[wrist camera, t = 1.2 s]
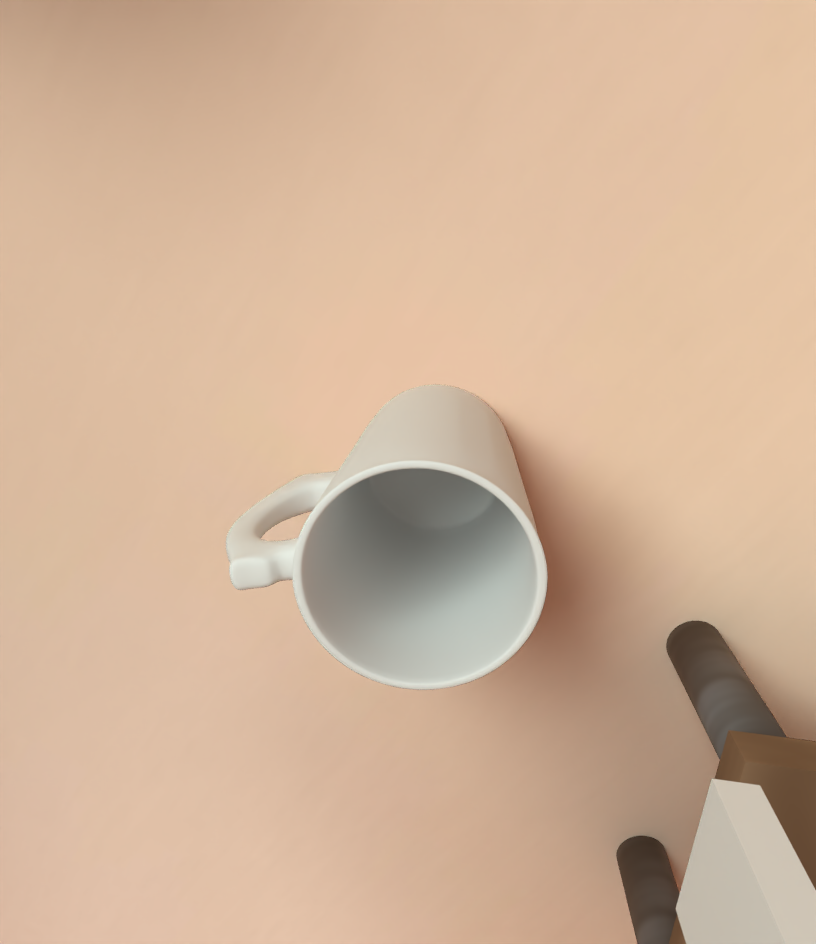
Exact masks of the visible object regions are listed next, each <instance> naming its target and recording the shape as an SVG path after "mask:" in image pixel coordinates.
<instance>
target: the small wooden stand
mask: <svg viewBox="0 0 816 944" xmlns="http://www.w3.org/2000/svg"><path fill="white" fill-rule="evenodd" d="M667 652H668V655H669V657H670V659H671V661H672V663H673V665H674V667H675V669H676V671H677V673H678V675H679V677H680V679H681V681H682V683H683V685H684V687H685V690H686V692H687V694H688V696H689V698H690V700H691V702H692V704H693V706H694V708H695V710H696V712H697V714H698V716H699V718H700V720H701V722H702V724H703V726H704V728H705V730H706V732H707V734H708V736H709V738H710V741H711V743H712V745H713V747H714V749H715V751H716V753H717V755H718V757H719V759H720V762H719V766H718V769H717V773H716V776H715V779H719V780H726V781H733V782H740V783H747V784H754V785H760V786H761V788H762V790H763V792H764V794H765V796H766V798H767V799H768V801H769V803H770V805H771V807H772V809H773V811H774V813H775V815H776V816H777V818H778V820H779V822H780V824H781V826H782V828H783V830H784V832H785V833H786V835H787V837H788V839H789V841H790V843H791V845H792V847H793V849H794V850H795V852H796V854H797V856H798V858H799V860H800V862H801V864H802V866H803V867H804V869H805V871H806V873H807V875H808V877H809V879H810V881H811V883H812V884H813V886H814V888H815V890H816V742H815V741H808V740H800V739H793V738H787V737H786V735H785V734H784V732H783V731H782V729H781V727H780V726H779V724H778V723H777V721H776V720H775V718H774V717H773V715H772V714H771V712H770V710H769V709H768V707H767V706H766V704H765V703H764V701H763V700H762V698H761V697H760V695H759V694H758V692H757V690H756V689H755V687H754V686H753V684H752V683H751V681H750V680H749V678H748V677H747V675H746V673H745V672H744V670H743V669H742V667H741V666H740V664H739V663H738V661H737V660H736V658H735V657H734V655H733V653H732V652H731V650H730V649H729V647H728V646H727V644H726V643H725V641H724V640H723V638H722V636H721V635H720V633H719V632H718V630H717V629H716V628H715V627H713V626H712V625H710V624H708V623H706V622H702V621H690V622H686V623H683V624H681V625H679V626H678V627H676V628H675V629H674V630H673V631H672V632H671V634H670V635H669V637H668V640H667ZM617 861H618V865H619V870H620V874H621V878H622V882H623V886H624V890H625V894H626V898H627V902H628V907H629V911H630V915H631V919H632V923H633V927H634V931H635V935H636V939H637V944H686V942H685V938H684V935H683V932H682V928H681V925H680V922H679V919H678V915H677V912H676V905H677V902H678V898H679V891H678V888H677V885H676V882H675V879H674V876H673V873H672V870H671V867H670V864H669V860H668V857H667V854H666V851H665V849H664V847H663V845H662V844H661V843H660V842H659V841H657V840H656V839H654V838H651V837H647V836H636V837H632V838H629V839H627V840H626V841H624V842H623V843H622V844H621V845H620V846H619V848H618V850H617Z"/></svg>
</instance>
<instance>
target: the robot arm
mask: <svg viewBox="0 0 816 944" xmlns="http://www.w3.org/2000/svg"><path fill="white" fill-rule="evenodd" d="M676 912H677V915H678V919H679V922H680V925H681V928H682V932H683V935H684V938H685V942H686V944H816V890H815V888H814V886H813V884H812V883H811V881H810V879H809V877H808V875H807V873H806V871H805V869H804V867H803V866H802V864H801V862H800V860H799V858H798V856H797V854H796V852H795V850H794V849H793V847H792V845H791V843H790V841H789V839H788V837H787V835H786V833H785V832H784V830H783V828H782V826H781V824H780V822H779V820H778V818H777V816H776V815H775V813H774V811H773V809H772V807H771V805H770V803H769V801H768V799H767V798H766V796H765V794H764V792H763V790H762V788H761V786H760V785H754V784H747V783H740V782H733V781H726V780H719V779H711V783H710V787H709V790H708V794H707V797H706V801H705V804H704V808H703V812H702V815H701V819H700V822H699V826H698V830H697V833H696V837H695V840H694V844H693V848H692V851H691V855H690V858H689V862H688V866H687V869H686V873H685V876H684V880H683V884H682V887H681V891H680V894H679V898H678V902H677V905H676Z"/></svg>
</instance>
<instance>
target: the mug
mask: <svg viewBox="0 0 816 944" xmlns="http://www.w3.org/2000/svg"><path fill="white" fill-rule="evenodd" d="M311 511H312V512H311ZM307 512H311V514H310V515H309V517H308V519H307V520H306V522H305V524H304V526H303V528H302V530H301V533H300V535H299V537H298V538H294V539H290V540H283V541H266V540H262V539H261V537H262V536H263V535H264V534H265V533H266V532H267V531H268V530H269V529H271V528H272V527H273V526H275V525H277V524H278V523H280V522H282V521H284V520H286V519H289V518H292V517H294V516H297V515H300V514H303V513H307ZM226 550H227V555H228V559H229V562H230V568H229V572H230V578H231V581H232V584H233V586H234V587H235V588H236V589H238V590H246V589H253V588H262V587H267V586H270V585H272V584H274V583H276V582H279V581H284V580H293V588H294V593H295V597H296V601H297V604H298V607H299V609H300V612H301V614H302V616H303V618H304V620H305V622H306V624H307V626H308V627H309V629H310V631H311V632H312V633H313V635H314V636H315V638H316V639H317V640H318V641H319V643H320V644H321V645H322V646H323V647H324V648H325V649H326V650H327V651H328V652H329V653H330V654H331V655H332V656H333V657H334V658H336V659H337V660H338V661H339V662H341V663H342V664H343V665H345V666H346V667H348V668H349V669H351V670H353V671H354V672H356V673H358V674H360V675H362V676H364V677H366V678H369V679H371V680H373V681H376V682H379V683H382V684H385V685H389V686H393V687H398V688H405V689H414V690H434V689H443V688H449V687H454V686H458V685H462V684H465V683H468V682H471V681H474V680H476V679H478V678H481V677H483V676H485V675H487V674H489V673H490V672H492V671H494V670H495V669H497V668H498V667H500V666H501V665H503V664H504V663H505V662H506V661H508V660H509V659H510V658H511V657H512V656H513V655H514V654H515V653H516V652H517V651H518V650H519V649H520V648H521V647H522V646H523V644H524V643H525V642H526V641H527V639H528V638H529V636H530V635H531V633H532V631H533V630H534V628H535V626H536V624H537V622H538V620H539V617H540V615H541V612H542V609H543V606H544V602H545V598H546V592H547V581H548V574H547V564H546V559H545V554H544V551H543V547H542V544H541V542H540V539H539V537H538V534H537V529H536V525H535V521H534V518H533V514H532V511H531V508H530V505H529V501H528V498H527V495H526V492H525V488H524V485H523V482H522V479H521V476H520V472H519V469H518V466H517V462H516V459H515V455H514V452H513V449H512V446H511V443H510V441H509V438H508V436H507V433H506V430H505V428H504V426H503V424H502V422H501V420H500V419H499V417H498V416H497V414H496V413H495V412H494V411H493V410H492V409H491V407H490V406H488V405H487V404H486V403H485V402H484V401H483V400H481V399H480V398H479V397H477V396H475V395H474V394H472V393H470V392H468V391H466V390H463V389H460V388H457V387H453V386H448V385H424V386H419V387H415V388H412V389H409V390H407V391H404V392H402V393H400V394H399V395H397V396H395V397H394V398H392V399H391V400H390V401H388V402H387V403H386V404H385V405H384V406H383V407H382V408H381V409H380V410H379V411H378V413H377V414H376V415H375V416H374V418H373V419H372V420H371V422H370V423H369V424H368V426H367V427H366V429H365V430H364V432H363V433H362V435H361V436H360V438H359V440H358V441H357V443H356V444H355V446H354V447H353V449H352V450H351V452H350V453H349V455H348V456H347V458H346V459H345V461H344V463H343V464H342V466H341V467H340V469H339V470H338V471H333V472H325V473H314V474H304V475H301V476H299V477H297V478H295V479H293V480H292V481H290V482H288V483H287V484H285V485H284V486H282V487H280V488H279V489H277V490H276V491H274V492H273V493H271V494H269V495H268V496H266V497H265V498H263V499H262V500H261V501H259V502H258V503H256V504H255V505H254V506H252V507H251V508H250V509H249V510H247V511H246V512H245V513H244V514H243V515H242V516H240V517H239V518H238V519H237V520H236V521H235V523H234V524H233V525H232V527H231V528H230V530H229V532H228V534H227V537H226Z"/></svg>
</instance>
